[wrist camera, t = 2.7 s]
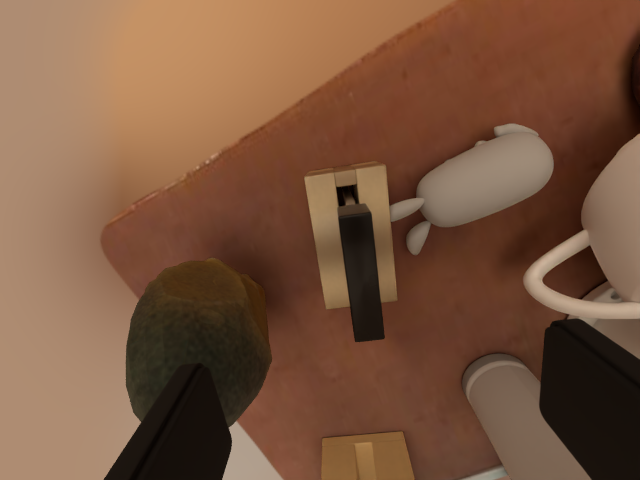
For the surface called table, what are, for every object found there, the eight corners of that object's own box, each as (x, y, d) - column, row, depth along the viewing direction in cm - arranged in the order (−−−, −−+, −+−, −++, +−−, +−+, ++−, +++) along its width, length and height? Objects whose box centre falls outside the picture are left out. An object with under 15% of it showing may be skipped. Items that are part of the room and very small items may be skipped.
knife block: (308, 171, 24) (303, 177, 20) (376, 160, 24) (386, 164, 20) (326, 283, 27) (325, 309, 23) (387, 276, 27) (397, 301, 22)
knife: (334, 186, 25) (337, 216, 14) (354, 183, 24) (371, 211, 14) (345, 265, 27) (355, 342, 16) (363, 263, 26) (385, 339, 16)
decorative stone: (304, 302, 28) (275, 468, 14) (250, 331, 29) (172, 513, 15) (241, 214, 26) (127, 303, 11) (186, 250, 27) (19, 371, 12)
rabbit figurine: (534, 94, 19) (360, 183, 23) (585, 158, 17) (383, 244, 21) (522, 147, 24) (382, 211, 28) (559, 200, 22) (403, 262, 26)
